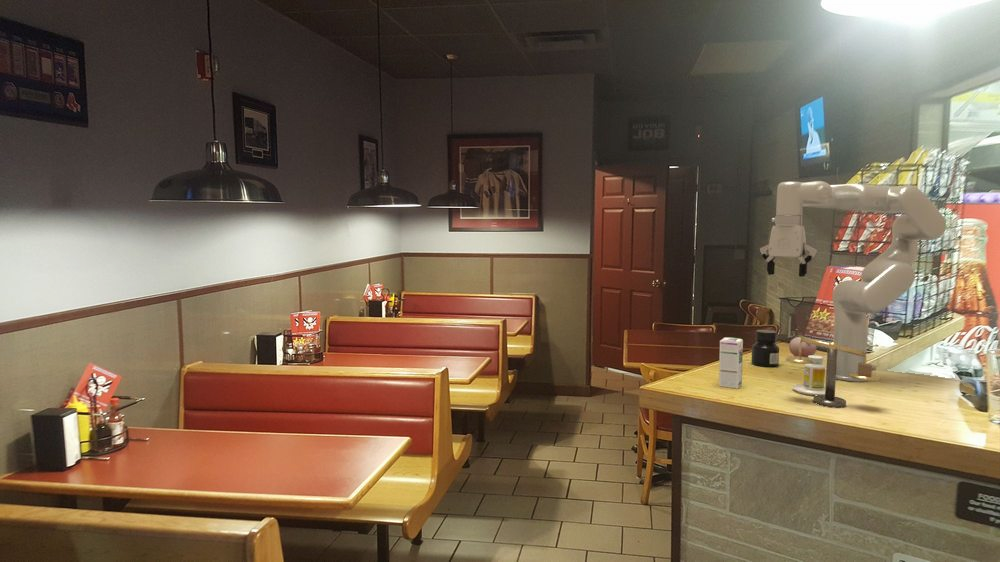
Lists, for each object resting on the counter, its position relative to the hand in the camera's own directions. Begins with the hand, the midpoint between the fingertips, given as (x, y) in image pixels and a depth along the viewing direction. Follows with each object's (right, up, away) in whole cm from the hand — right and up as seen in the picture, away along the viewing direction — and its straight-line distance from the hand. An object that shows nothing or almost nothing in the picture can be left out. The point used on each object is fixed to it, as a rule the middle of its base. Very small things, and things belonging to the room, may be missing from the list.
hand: (786, 275), depth 195 cm
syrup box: (-20, -34, -6) cm, 40 cm away
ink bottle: (+3, -32, +23) cm, 39 cm away
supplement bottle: (+2, -34, -13) cm, 36 cm away
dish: (+2, -35, -13) cm, 37 cm away
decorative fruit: (+19, -31, +29) cm, 46 cm away
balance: (0, -36, -25) cm, 44 cm away
